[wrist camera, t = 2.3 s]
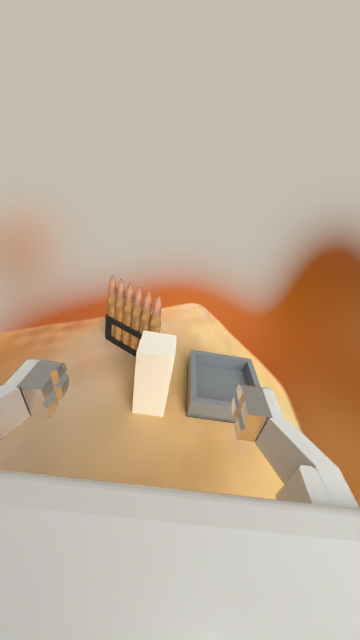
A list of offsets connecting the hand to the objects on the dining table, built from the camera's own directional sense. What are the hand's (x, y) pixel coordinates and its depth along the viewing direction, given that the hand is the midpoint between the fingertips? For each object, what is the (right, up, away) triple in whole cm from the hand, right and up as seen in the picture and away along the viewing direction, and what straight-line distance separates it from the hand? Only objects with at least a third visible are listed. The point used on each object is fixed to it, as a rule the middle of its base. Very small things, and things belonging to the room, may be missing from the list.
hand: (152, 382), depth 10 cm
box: (+7, -8, +22) cm, 25 cm away
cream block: (-3, -8, +19) cm, 21 cm away
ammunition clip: (-7, -2, +27) cm, 28 cm away
